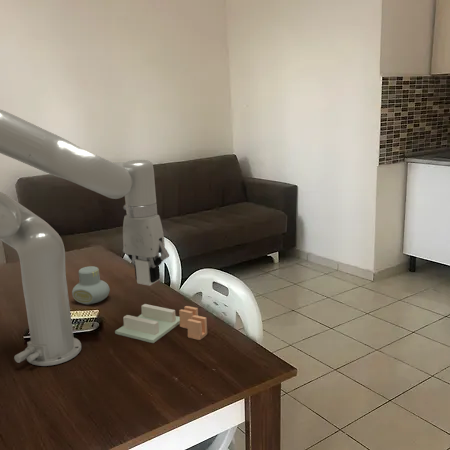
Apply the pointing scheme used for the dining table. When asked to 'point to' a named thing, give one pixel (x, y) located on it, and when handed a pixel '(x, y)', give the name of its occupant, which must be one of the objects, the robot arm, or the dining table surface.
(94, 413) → the dining table surface
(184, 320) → the clips
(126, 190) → the robot arm
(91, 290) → the air freshener
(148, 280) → the block
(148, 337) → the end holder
